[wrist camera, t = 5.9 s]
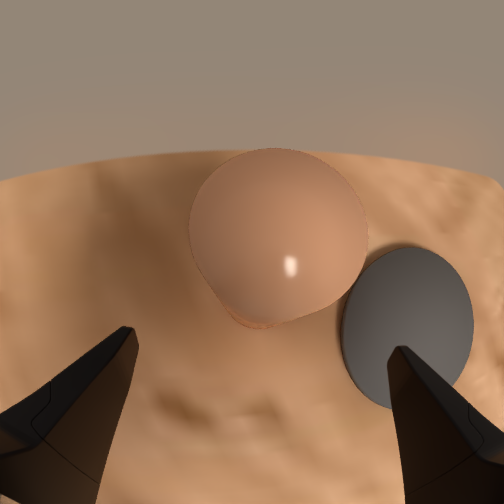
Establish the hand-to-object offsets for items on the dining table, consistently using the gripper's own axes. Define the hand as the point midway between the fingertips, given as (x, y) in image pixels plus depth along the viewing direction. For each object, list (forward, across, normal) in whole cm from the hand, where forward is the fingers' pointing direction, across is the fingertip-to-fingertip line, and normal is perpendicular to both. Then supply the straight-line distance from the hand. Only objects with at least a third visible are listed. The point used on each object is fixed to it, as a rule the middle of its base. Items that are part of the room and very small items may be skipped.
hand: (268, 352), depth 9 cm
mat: (+8, -12, +7) cm, 16 cm away
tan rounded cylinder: (+10, 0, +5) cm, 11 cm away
